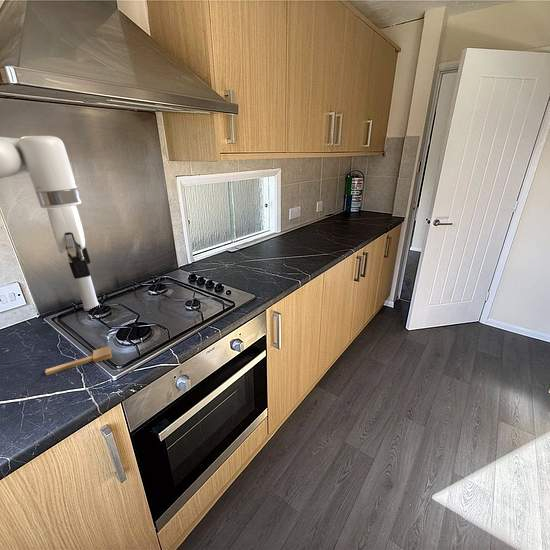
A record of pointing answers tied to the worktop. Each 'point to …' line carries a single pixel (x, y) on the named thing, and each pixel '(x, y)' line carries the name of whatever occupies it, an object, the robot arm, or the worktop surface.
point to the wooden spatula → (83, 360)
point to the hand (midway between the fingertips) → (83, 270)
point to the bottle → (86, 292)
